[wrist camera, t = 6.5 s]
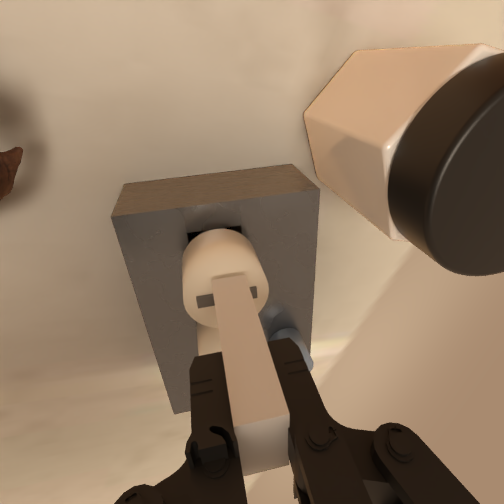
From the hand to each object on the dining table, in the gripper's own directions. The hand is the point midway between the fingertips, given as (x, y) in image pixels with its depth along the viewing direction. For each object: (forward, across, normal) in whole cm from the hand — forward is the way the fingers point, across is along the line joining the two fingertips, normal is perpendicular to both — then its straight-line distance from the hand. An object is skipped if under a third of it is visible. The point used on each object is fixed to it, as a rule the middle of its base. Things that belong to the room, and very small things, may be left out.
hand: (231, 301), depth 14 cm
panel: (+9, 0, -6) cm, 11 cm away
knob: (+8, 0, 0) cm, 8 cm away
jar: (+10, +11, +5) cm, 15 cm away
